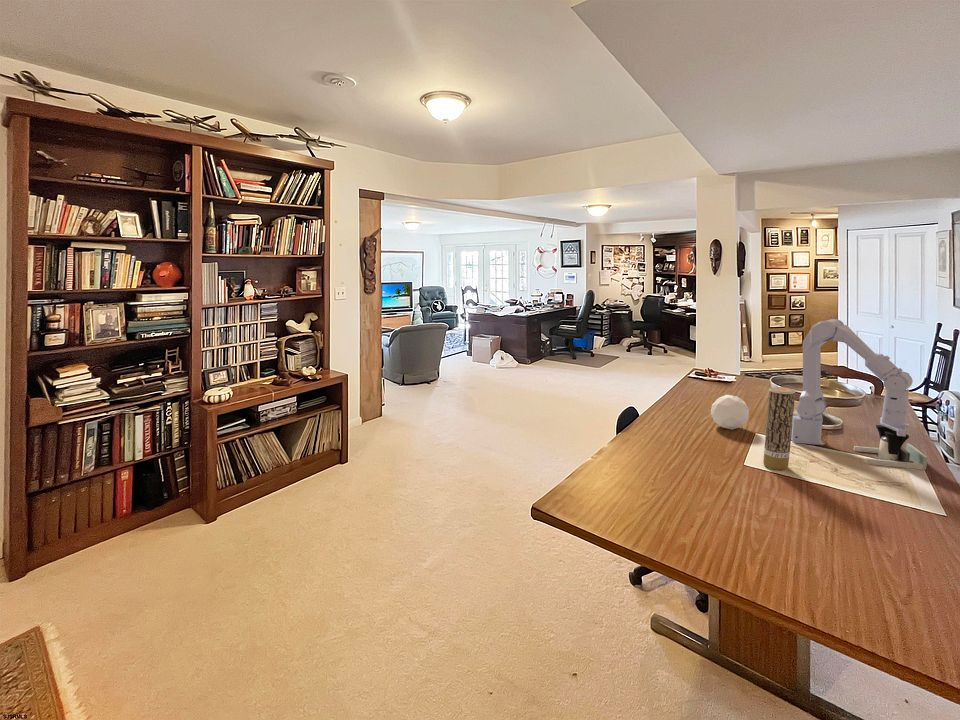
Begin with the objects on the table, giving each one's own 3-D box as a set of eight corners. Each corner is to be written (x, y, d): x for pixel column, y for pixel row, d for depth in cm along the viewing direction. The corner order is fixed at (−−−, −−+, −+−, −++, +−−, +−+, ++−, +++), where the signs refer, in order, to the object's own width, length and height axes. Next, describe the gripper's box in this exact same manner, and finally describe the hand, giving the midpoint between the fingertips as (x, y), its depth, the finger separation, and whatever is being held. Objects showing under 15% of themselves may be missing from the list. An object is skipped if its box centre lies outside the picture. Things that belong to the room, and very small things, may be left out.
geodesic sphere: (698, 407, 200) (711, 386, 190) (729, 405, 201) (744, 384, 191) (713, 436, 190) (727, 416, 180) (745, 434, 192) (762, 414, 182)
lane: (866, 463, 154) (868, 451, 153) (853, 450, 165) (854, 438, 165) (925, 469, 148) (927, 457, 148) (908, 455, 160) (909, 443, 159)
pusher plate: (904, 465, 151) (906, 452, 150) (891, 453, 160) (893, 442, 160) (908, 465, 151) (910, 453, 150) (895, 454, 160) (896, 442, 159)
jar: (881, 461, 155) (884, 440, 154) (875, 456, 160) (878, 435, 159) (900, 463, 154) (903, 441, 152) (894, 458, 158) (897, 436, 157)
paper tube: (758, 463, 156) (764, 387, 152) (778, 461, 157) (785, 386, 152) (772, 471, 149) (779, 392, 145) (793, 470, 150) (800, 391, 146)
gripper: (921, 417, 146) (915, 460, 148) (900, 405, 159) (895, 444, 161) (891, 415, 148) (886, 457, 151) (874, 403, 162) (869, 442, 164)
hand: (889, 450), depth 156 cm, fingers open, 5 cm apart
